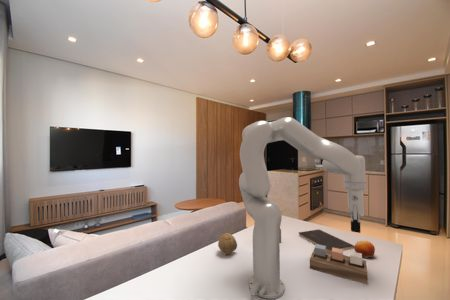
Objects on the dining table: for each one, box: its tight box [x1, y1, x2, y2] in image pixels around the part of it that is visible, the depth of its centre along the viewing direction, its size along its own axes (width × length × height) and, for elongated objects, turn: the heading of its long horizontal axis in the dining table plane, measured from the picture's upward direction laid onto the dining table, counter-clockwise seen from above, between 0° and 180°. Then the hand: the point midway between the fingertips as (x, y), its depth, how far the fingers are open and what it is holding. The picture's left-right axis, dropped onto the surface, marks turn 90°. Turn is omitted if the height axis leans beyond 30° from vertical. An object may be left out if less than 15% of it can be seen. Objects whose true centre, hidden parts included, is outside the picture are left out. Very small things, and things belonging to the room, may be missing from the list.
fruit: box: [353, 240, 376, 259], centre depth 95 cm, size 8×8×8 cm
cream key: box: [349, 251, 363, 266], centre depth 81 cm, size 4×4×3 cm
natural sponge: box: [217, 232, 238, 256], centre depth 97 cm, size 9×9×10 cm
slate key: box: [314, 244, 326, 257], centre depth 88 cm, size 4×4×3 cm
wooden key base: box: [309, 248, 369, 285], centre depth 84 cm, size 12×20×4 cm, turn 57°
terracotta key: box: [332, 247, 344, 261], centre depth 85 cm, size 4×4×3 cm
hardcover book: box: [298, 229, 355, 252], centre depth 111 cm, size 16×23×2 cm
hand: (355, 231), depth 81 cm, fingers closed
